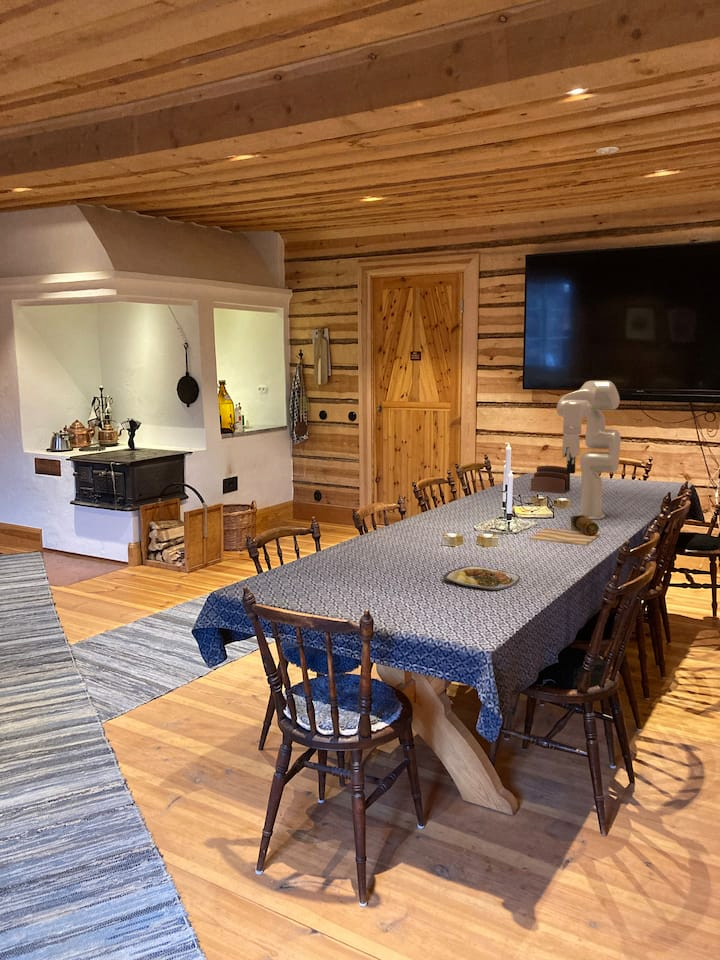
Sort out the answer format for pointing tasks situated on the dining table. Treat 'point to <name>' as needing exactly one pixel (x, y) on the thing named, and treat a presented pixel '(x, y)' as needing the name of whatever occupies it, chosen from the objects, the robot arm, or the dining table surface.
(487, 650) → the dining table surface
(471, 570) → the meal
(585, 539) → the oak board
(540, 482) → the letter holder
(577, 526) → the condiment
